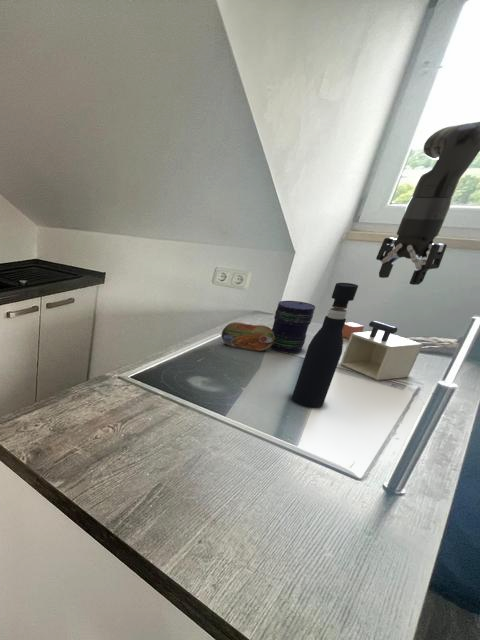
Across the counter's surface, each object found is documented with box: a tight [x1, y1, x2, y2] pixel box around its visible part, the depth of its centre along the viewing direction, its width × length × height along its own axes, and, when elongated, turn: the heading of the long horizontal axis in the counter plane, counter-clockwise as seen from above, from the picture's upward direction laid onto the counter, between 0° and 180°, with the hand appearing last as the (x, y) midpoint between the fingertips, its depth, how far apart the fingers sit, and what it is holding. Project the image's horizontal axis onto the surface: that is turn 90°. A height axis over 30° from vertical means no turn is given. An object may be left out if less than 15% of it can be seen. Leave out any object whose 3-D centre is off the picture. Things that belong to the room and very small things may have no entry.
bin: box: [340, 320, 424, 381], centre depth 110 cm, size 14×11×10 cm
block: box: [342, 321, 365, 340], centre depth 137 cm, size 4×4×4 cm
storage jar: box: [269, 300, 316, 354], centre depth 127 cm, size 10×10×15 cm
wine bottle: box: [291, 282, 359, 409], centre depth 92 cm, size 6×6×30 cm
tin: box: [221, 321, 275, 352], centre depth 129 cm, size 15×3×8 cm, turn 55°
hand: (398, 280), depth 104 cm, fingers open, 8 cm apart
